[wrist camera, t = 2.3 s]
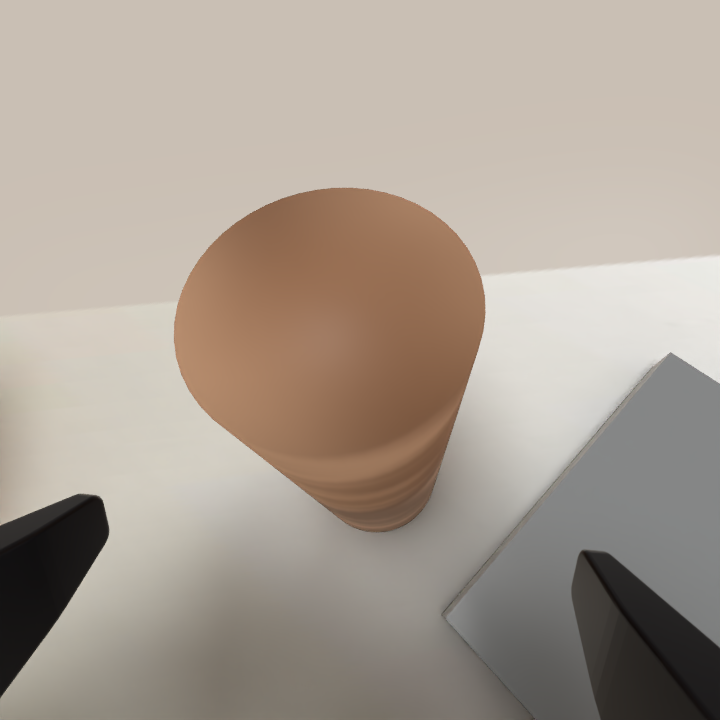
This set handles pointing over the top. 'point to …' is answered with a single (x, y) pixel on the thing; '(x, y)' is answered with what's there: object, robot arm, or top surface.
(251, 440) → the banded brown cylinder
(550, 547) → the slate board
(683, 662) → the robot arm
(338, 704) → the top surface
